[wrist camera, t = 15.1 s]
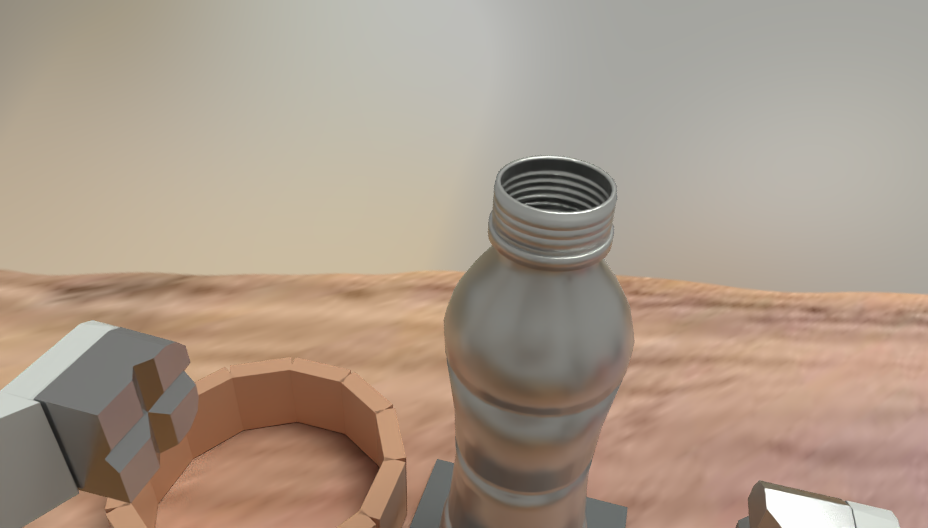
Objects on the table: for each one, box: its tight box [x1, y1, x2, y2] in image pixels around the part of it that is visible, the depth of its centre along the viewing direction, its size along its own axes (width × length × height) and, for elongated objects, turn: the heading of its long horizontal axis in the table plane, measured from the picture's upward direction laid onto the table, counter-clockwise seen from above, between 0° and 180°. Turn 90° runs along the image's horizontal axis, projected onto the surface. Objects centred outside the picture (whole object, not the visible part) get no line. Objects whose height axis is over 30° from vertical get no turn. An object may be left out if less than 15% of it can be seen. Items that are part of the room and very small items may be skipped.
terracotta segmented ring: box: [105, 357, 407, 528], centre depth 33 cm, size 13×13×4 cm
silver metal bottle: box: [439, 155, 634, 528], centre depth 26 cm, size 6×7×20 cm
